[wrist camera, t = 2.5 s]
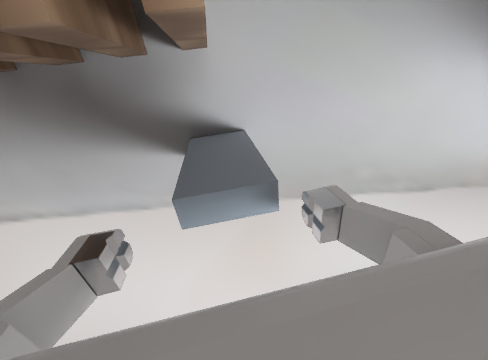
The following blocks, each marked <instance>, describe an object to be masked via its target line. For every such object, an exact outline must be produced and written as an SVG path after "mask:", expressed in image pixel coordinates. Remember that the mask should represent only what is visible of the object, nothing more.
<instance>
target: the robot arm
mask: <svg viewBox="0 0 488 360" xmlns="http://www.w3.org/2000/svg"><path fill="white" fill-rule="evenodd" d="M302 200H303V201H304V202H305V203H304V205H303V206H302V216H303V219H304V222H305V223H306V225H307V226H308V227H310V228H312V233H313V235H314V236H315V238H316V239H317V240H318V242H319V243H325V242H330V241H335V240H338V241H340V242H341V243H343V244H345V245H347V246H348V247H350V248H352V249H353V250H355V251H357V252H359V253H360V254H362V255H364V256H366V257H367V258H369V259H371V260H372V261H374V262H376V263H378V264H379V265H376V266H372V267H368V268H364V269H360V270H357V271H352V272H348V273H344V274H341V275H337V276H333V277H329V278H325V279H321V280H317V281H313V282H309V283H305V284H301V285H297V286H293V287H290V288H285V289H282V290H278V291H274V292H270V293H266V294H262V295H258V296H254V297H250V298H246V299H242V300H238V301H234V302H230V303H227V304H222V305H219V306H215V307H211V308H207V309H203V310H199V311H195V312H192V313H187V314H183V315H179V316H175V317H172V318H168V319H163V320H160V321H156V322H152V323H148V324H144V325H140V326H136V327H132V328H128V329H124V330H121V331H116V332H112V333H109V334H105V335H101V336H97V337H93V338H89V339H85V340H81V341H77V342H73V343H69V344H65V345H61V346H58V347H54V348H52V347H53V346H54V345H55V344H56V342H57V341H58V340H59V339H60V338H61V337H62V336H63V335H64V334H65V333H66V331H67V330H68V329H69V328H70V327H71V326H72V325H73V324H74V322H75V321H76V320H77V319H78V318H79V317H80V316H81V315H82V314H83V313H84V312H85V310H86V309H87V308H88V307H89V306H90V305H91V304H92V303H93V302H94V300H95V299H96V298H97V296H100V295H103V294H107V293H111V292H115V291H119V290H120V289H121V287H122V285H123V282H124V279H125V277H126V274H125V272H124V271H125V270H126V269H127V268H128V267H129V266H130V264H131V262H132V255H133V253H132V248H131V246H130V244H128V243H127V242H125V241H123V240H124V237H125V235H124V234H123V232H122V230H120V229H115V230H109V231H104V232H98V233H93V234H88V235H83V236H80V237H77V238H76V239H75V240H74V242H73V243H72V244H71V245H70V247H69V248H68V249H67V250H66V252H65V253H64V254H63V255H62V256H61V258H60V259H59V260H58V261H57V263H56V264H55V265H54V266H53V267H52V269H48V270H46V271H44V272H43V273H41V274H40V275H38V276H37V277H35V278H34V279H32V280H31V281H29V282H28V283H26V284H25V285H23V286H22V287H20V288H19V289H17V290H16V291H14V292H13V293H11V294H10V295H9V296H7V297H5V298H4V299H2V300H1V301H0V360H488V237H487V238H482V239H479V240H474V241H470V242H466V243H462V242H460V241H459V240H457V239H456V238H454V237H452V236H451V235H449V234H448V233H446V232H445V231H443V230H441V229H440V228H438V227H437V226H435V225H433V224H432V223H430V222H428V221H425V220H422V219H418V218H415V217H411V216H408V215H405V214H401V213H398V212H394V211H391V210H387V209H384V208H380V207H377V206H374V205H370V204H367V203H363V202H359V203H358V202H357V201H355V200H354V199H353V198H352V197H350V196H349V195H348V194H347V193H345V192H344V191H343V190H342V189H340V188H339V187H338V186H336V185H330V186H326V187H323V188H318V189H314V190H309V191H304V192H303V194H302Z"/></svg>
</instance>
